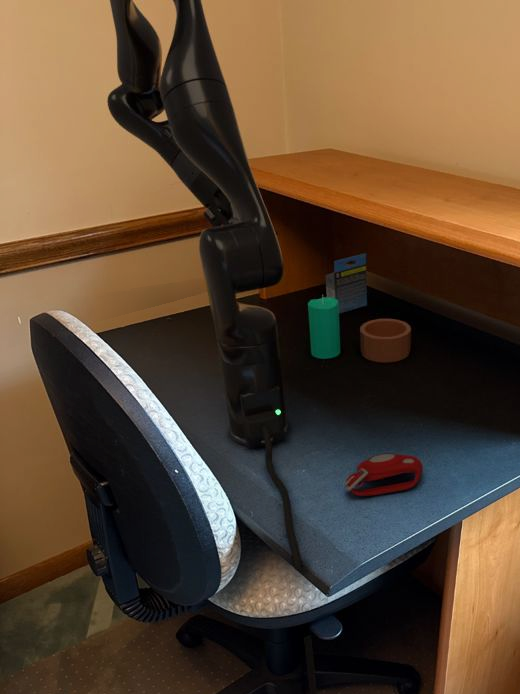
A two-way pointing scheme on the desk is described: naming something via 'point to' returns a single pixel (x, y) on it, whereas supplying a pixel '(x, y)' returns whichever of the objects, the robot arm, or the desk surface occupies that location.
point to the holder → (385, 340)
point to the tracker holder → (384, 473)
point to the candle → (324, 327)
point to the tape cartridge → (348, 283)
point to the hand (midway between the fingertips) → (264, 243)
